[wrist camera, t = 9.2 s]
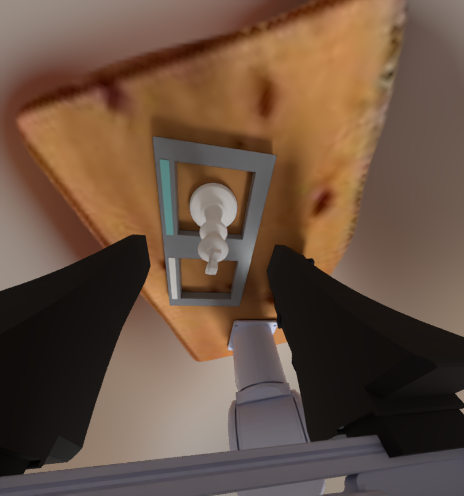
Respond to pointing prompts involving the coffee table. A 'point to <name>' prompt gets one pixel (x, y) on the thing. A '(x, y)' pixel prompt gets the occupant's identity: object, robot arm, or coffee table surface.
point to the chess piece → (213, 221)
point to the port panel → (188, 241)
